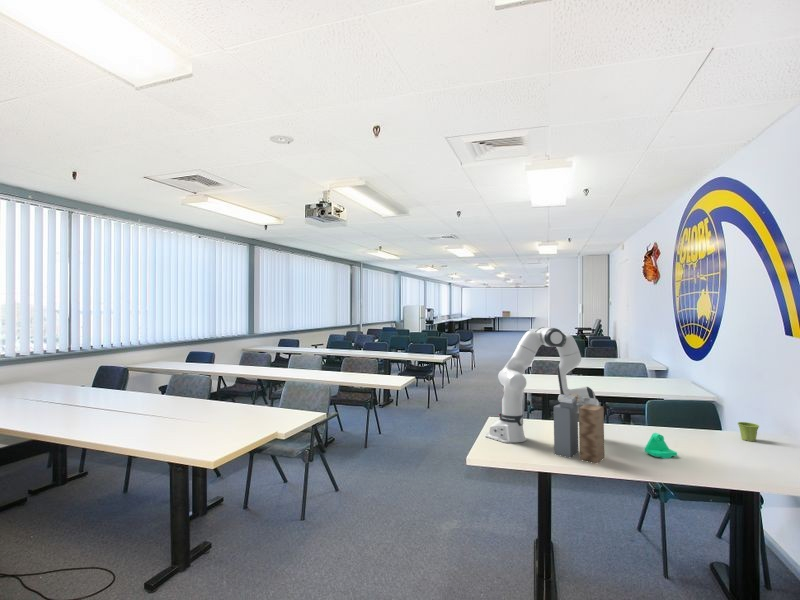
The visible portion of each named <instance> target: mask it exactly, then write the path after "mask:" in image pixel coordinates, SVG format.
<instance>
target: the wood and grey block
mask: <svg viewBox="0 0 800 600" xmlns="http://www.w3.org/2000/svg"><path fill="white" fill-rule="evenodd" d="M576 397H577V395H576V394H572V395H566V394H565V395H564V396H563V397H562V398H561V402H559V404H560V407H563V408H570V409H573V408H574V407H575V406H576V405H577V398H576Z"/></svg>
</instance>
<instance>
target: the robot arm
mask: <svg viewBox="0 0 800 600" xmlns="http://www.w3.org/2000/svg"><path fill="white" fill-rule="evenodd" d="M541 346H545V347H550V348H556V350H557V352H558V355H559V363H558V364H557V368H556V369H557V379H558V385H559V392H560V394H559V395H558V397H557V400H558V402H559V403H560V402H561V398H562V397H563V396H564V395H565V394H566V395H572V394H576V395H577V397H576V398H577V405H578V415H579V408H580V407H582V406H584V405H586V404H588V405H595V406H600V403H599V402H600V401H599V400H598V399H597V396H596V394H595V392H594V390H593V389H592V388H591V387H589V386H582V387H576V388H568V382H567V374H568V373H569V372H571V371H572V370H574V369H575V368H577V367H578V366H579V365H580V364H581V362H582V355H581V352H580V348H579V347H578V344H577V342H576V340H575V338H574V336H573V335H572V334H570V333H563V332H562V331H561V330H560V329H558V328H556V327H551V326H542V327H539V328H537V330H535V331H534V330H528V331H526V332H525V333H524V334H523V336H522V337H521V339H520V340H519V341H518V344H517V346H516V348H515V350H514V352H513V354H512V355H511V357H510V359H508V361H507V362H506V364H505V365H504V367H503V368H502V369H501V370H499V372H498V374H497V379H498V381H499V383H500V384H501V385H502V386H503V387H504V392H503V397H502V399H501V410H502V411H501V413H499V414H498V416H497V417H499V419H497V420H495V421H494V422H493V423H492V424H491V425H490V426H489V431H488V432H486V433H485V434H484V435H485V436H484V437H485V438H488V439H491V440H495V441H497V440H498V441H497V442H500V443H501V442H502V443H505V444H506V443H509V444H510V443H523V442H526V440H527V439H526V436H525V431H524V414H523V397H524V391H525V388H526V386H527V378H526V377H525V375H524V372H525V371H526V370H527V369H528V368H529V367H530V366H531V365H532V363H533V360H534V359H535V356H536V354H537V353H538V350H539V348H540V347H541Z"/></svg>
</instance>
